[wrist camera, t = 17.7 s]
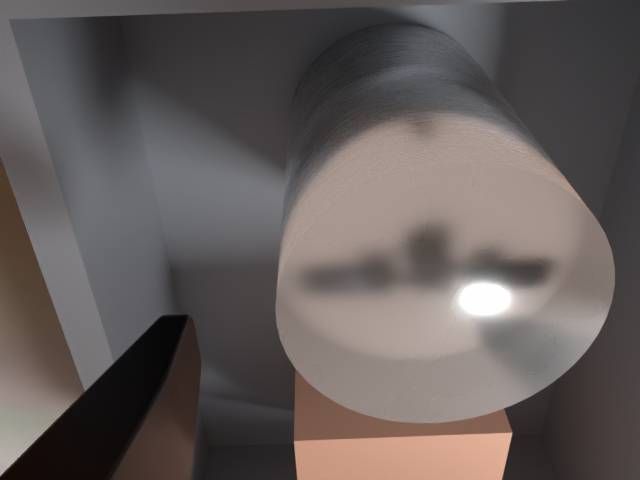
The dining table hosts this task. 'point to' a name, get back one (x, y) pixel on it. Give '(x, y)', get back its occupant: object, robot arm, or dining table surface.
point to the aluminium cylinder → (428, 237)
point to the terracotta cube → (393, 444)
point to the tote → (268, 192)
